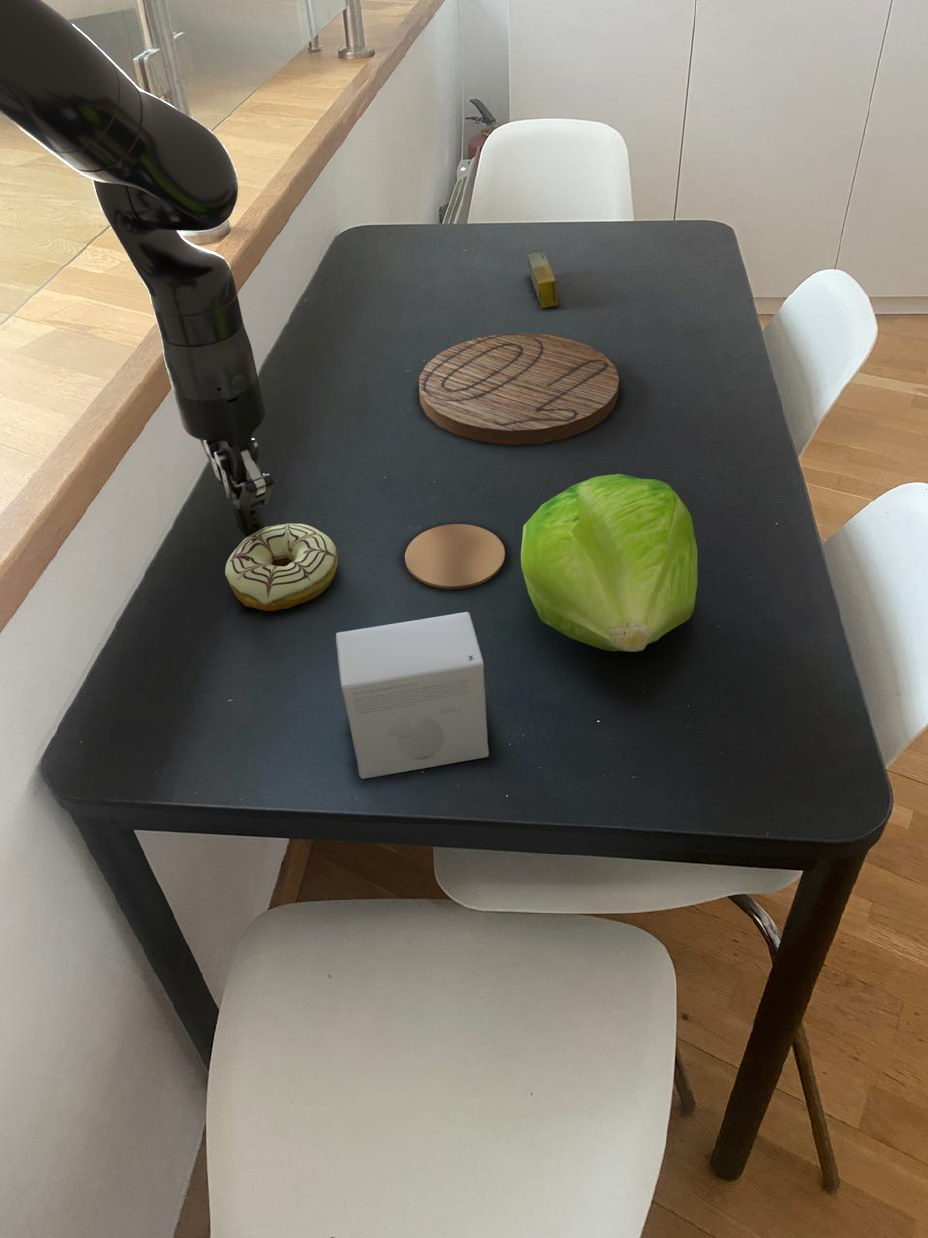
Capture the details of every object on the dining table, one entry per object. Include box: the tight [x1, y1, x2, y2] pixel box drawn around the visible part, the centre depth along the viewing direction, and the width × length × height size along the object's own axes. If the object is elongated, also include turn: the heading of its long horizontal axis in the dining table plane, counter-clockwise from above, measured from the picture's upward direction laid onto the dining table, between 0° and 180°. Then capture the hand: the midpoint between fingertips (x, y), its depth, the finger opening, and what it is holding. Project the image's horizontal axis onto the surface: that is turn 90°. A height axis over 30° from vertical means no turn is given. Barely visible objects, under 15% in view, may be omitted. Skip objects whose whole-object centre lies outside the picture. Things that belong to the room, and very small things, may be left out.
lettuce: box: [520, 473, 699, 653], centre depth 79 cm, size 15×20×14 cm
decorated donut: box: [224, 522, 339, 612], centre depth 89 cm, size 10×11×4 cm
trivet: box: [418, 332, 620, 446], centre depth 116 cm, size 25×25×2 cm
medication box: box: [527, 250, 559, 309], centre depth 136 cm, size 12×3×4 cm, turn 5°
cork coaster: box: [404, 523, 506, 590], centre depth 92 cm, size 10×10×1 cm
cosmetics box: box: [335, 611, 490, 780], centre depth 71 cm, size 10×6×10 cm, turn 100°
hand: (252, 530), depth 93 cm, fingers closed
